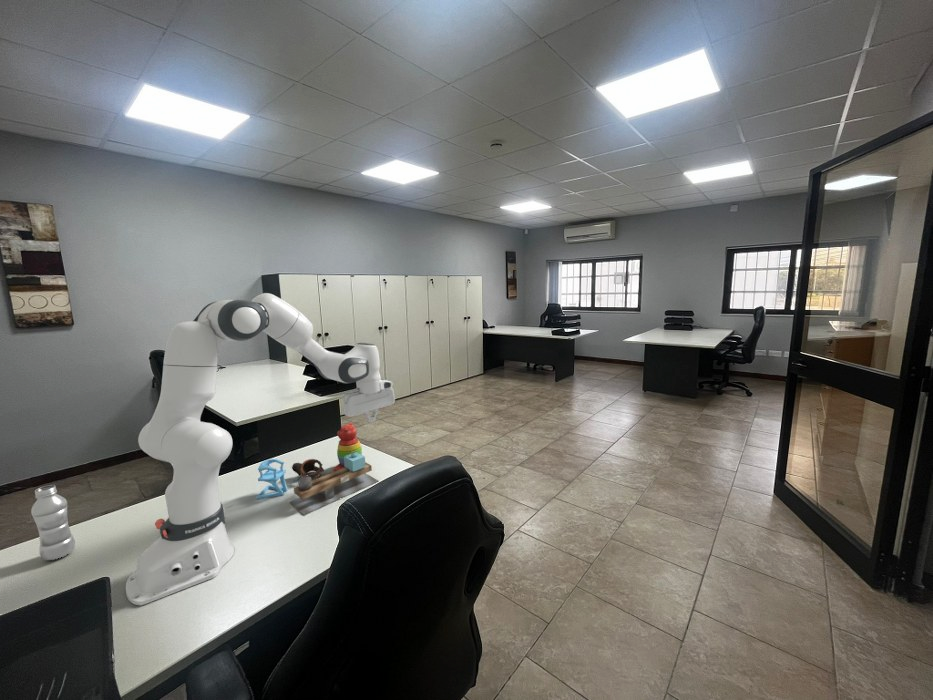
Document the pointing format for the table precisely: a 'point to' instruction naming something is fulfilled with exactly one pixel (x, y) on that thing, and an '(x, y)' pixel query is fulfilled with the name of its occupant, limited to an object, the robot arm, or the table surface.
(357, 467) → the block
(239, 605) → the table surface
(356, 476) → the brown wooden bench
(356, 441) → the stacking bear
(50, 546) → the plastic bottle
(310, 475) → the pottery mug
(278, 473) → the chair
